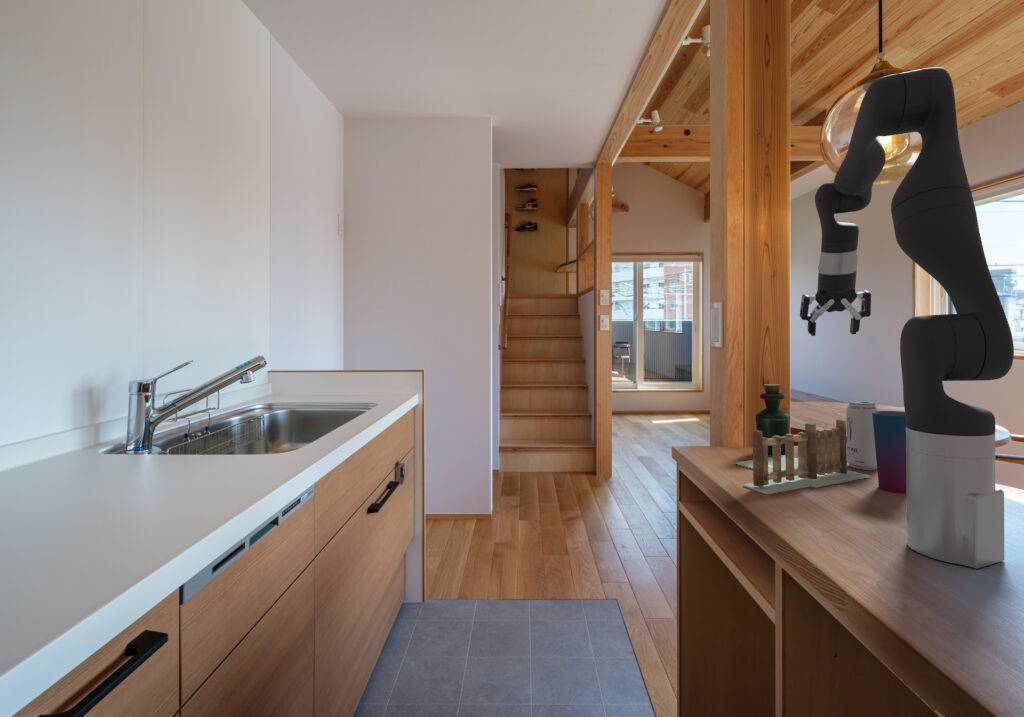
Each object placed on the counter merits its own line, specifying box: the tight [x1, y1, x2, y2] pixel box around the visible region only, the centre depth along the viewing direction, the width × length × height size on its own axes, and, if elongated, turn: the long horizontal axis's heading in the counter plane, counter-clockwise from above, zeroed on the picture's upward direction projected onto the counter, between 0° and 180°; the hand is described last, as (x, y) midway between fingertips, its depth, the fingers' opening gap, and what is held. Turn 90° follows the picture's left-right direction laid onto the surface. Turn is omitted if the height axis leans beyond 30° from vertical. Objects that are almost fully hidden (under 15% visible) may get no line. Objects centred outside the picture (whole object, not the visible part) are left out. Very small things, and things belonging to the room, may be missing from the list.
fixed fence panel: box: [804, 418, 848, 479], centre depth 103 cm, size 2×11×12 cm, turn 109°
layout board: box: [735, 455, 871, 495], centre depth 108 cm, size 21×28×1 cm
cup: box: [872, 410, 906, 494], centre depth 94 cm, size 7×7×15 cm
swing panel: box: [751, 429, 808, 487], centre depth 99 cm, size 14×2×11 cm, turn 109°
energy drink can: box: [845, 400, 880, 471], centre depth 110 cm, size 6×6×15 cm
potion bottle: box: [755, 383, 791, 456], centre depth 126 cm, size 8×8×18 cm
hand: (832, 334), depth 119 cm, fingers open, 8 cm apart
